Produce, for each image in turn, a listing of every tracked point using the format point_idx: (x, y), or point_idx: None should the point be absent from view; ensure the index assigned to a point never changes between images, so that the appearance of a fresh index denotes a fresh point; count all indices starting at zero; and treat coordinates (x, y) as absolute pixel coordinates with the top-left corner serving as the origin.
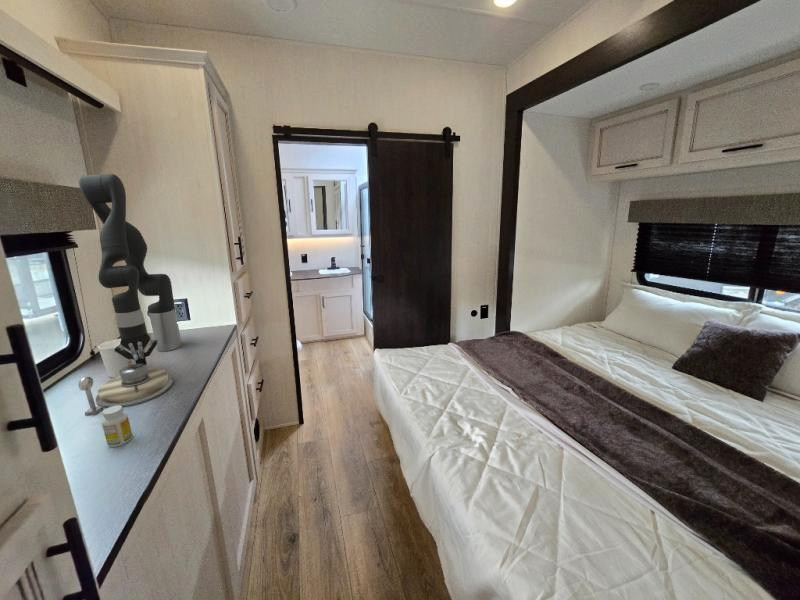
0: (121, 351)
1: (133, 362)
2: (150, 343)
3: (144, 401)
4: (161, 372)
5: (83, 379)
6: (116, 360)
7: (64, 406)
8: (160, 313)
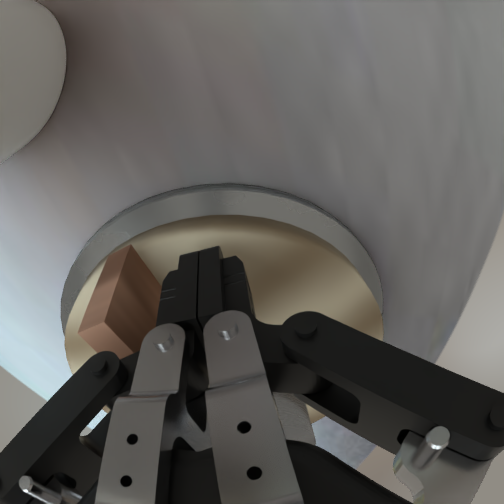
0: (82, 495)
1: (34, 62)
2: (411, 478)
3: None
4: (350, 307)
5: None
6: None
7: (17, 368)
8: None
